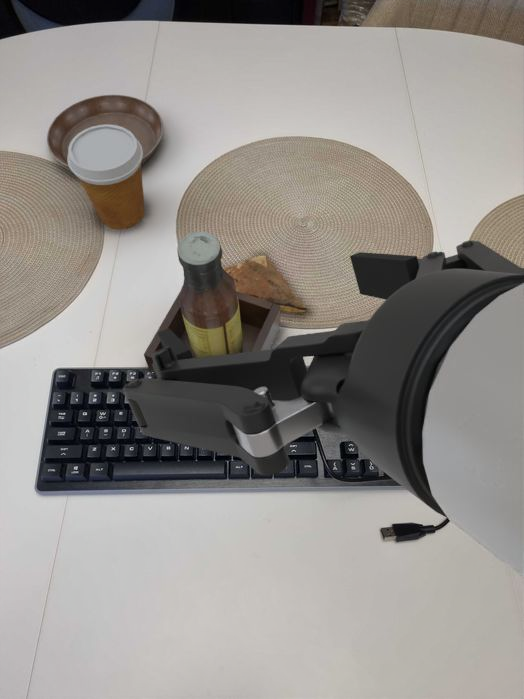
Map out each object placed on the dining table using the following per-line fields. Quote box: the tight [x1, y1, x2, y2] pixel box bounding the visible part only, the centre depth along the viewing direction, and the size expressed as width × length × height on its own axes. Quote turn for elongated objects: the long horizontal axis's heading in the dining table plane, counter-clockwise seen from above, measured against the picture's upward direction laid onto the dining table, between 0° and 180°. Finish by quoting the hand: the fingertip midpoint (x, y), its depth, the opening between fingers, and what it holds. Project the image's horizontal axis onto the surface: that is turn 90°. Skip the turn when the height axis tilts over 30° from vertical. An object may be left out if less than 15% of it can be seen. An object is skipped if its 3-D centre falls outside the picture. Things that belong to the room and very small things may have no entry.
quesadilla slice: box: [224, 254, 308, 314], centre depth 71 cm, size 11×8×2 cm
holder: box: [143, 290, 282, 379], centre depth 65 cm, size 12×12×6 cm
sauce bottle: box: [176, 231, 243, 358], centre depth 58 cm, size 6×6×20 cm
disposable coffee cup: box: [67, 125, 145, 230], centre depth 73 cm, size 10×10×12 cm
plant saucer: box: [46, 94, 164, 169], centre depth 84 cm, size 18×18×3 cm
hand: (269, 310), depth 35 cm, fingers open, 13 cm apart
